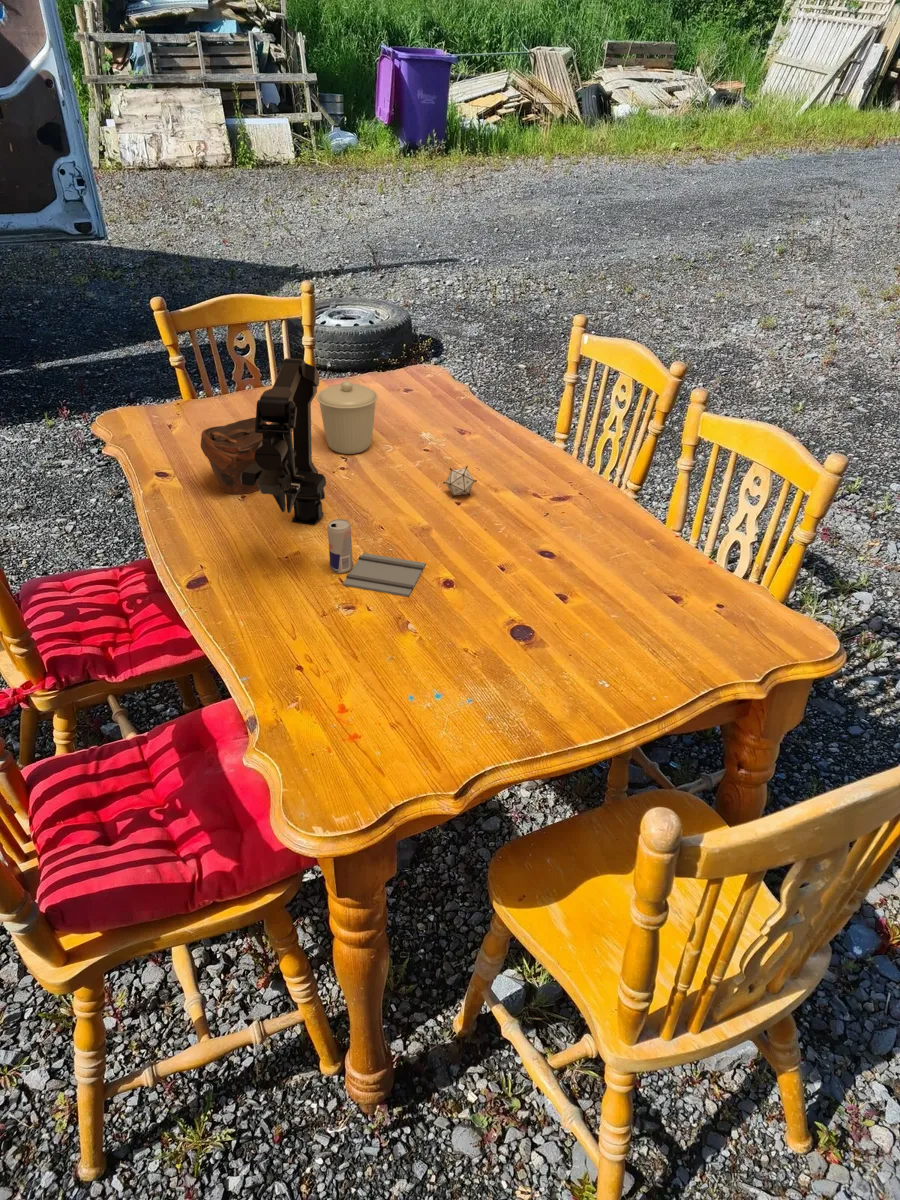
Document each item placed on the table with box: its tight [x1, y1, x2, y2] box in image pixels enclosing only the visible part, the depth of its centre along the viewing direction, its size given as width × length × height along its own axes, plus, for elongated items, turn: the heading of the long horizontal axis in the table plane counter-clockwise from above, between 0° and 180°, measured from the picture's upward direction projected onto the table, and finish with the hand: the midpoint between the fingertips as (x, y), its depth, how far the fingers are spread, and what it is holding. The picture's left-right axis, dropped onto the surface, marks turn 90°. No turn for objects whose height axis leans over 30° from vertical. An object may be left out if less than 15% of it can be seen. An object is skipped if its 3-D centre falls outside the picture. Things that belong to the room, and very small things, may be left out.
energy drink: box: [327, 518, 354, 574], centre depth 189 cm, size 5×5×12 cm
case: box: [200, 417, 268, 495], centre depth 221 cm, size 18×20×18 cm
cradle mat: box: [342, 552, 427, 598], centre depth 190 cm, size 16×14×1 cm
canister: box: [316, 379, 379, 455], centre depth 242 cm, size 18×18×21 cm
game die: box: [442, 465, 478, 499], centre depth 223 cm, size 9×8×10 cm
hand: (286, 512), depth 187 cm, fingers closed
